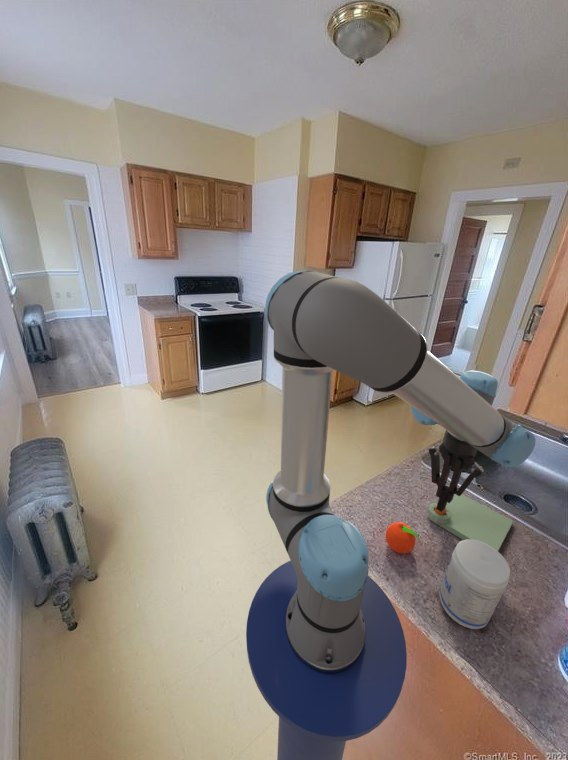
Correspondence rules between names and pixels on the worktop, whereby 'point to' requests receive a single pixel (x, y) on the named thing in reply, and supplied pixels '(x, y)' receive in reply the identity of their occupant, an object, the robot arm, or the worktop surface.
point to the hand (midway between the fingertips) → (440, 507)
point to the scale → (472, 521)
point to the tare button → (440, 511)
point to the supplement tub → (473, 583)
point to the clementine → (400, 537)
